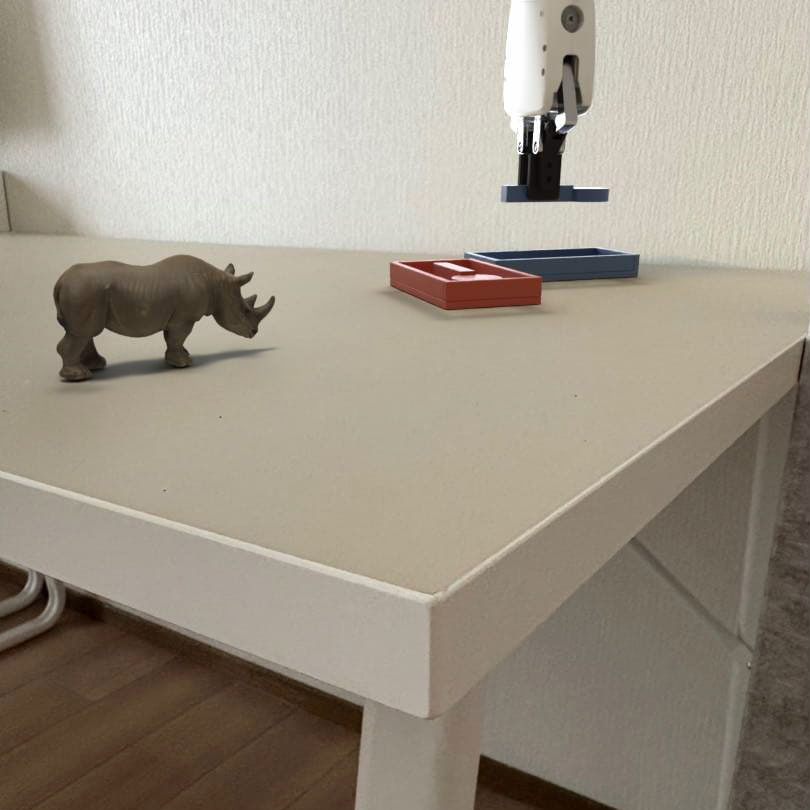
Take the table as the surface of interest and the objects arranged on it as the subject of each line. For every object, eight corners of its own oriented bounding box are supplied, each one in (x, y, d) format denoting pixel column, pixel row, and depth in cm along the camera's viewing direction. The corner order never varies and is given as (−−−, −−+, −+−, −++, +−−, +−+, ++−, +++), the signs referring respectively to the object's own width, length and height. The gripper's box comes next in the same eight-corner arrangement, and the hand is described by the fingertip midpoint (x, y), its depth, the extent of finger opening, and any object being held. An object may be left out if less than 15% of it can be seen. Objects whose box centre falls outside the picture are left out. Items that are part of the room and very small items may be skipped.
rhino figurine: (296, 353, 54) (290, 250, 51) (68, 385, 47) (49, 267, 44) (265, 342, 57) (258, 245, 55) (46, 371, 50) (27, 260, 47)
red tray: (389, 285, 82) (389, 261, 81) (471, 281, 84) (472, 258, 83) (445, 309, 69) (446, 281, 68) (541, 304, 71) (542, 277, 70)
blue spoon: (512, 203, 82) (513, 185, 81) (494, 201, 86) (495, 184, 85) (616, 201, 85) (618, 185, 84) (595, 200, 89) (596, 184, 88)
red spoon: (418, 280, 80) (418, 263, 80) (461, 278, 81) (461, 261, 81) (461, 297, 71) (462, 277, 70) (509, 294, 72) (510, 275, 71)
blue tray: (596, 267, 94) (598, 247, 93) (638, 276, 86) (640, 254, 86) (463, 273, 89) (463, 252, 89) (495, 284, 82) (496, 260, 81)
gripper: (635, -40, 72) (613, 202, 79) (549, -9, 85) (538, 195, 92) (551, -46, 69) (537, 203, 77) (477, -13, 83) (471, 196, 90)
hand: (537, 198), depth 85 cm, fingers closed on blue spoon, 1 cm apart
